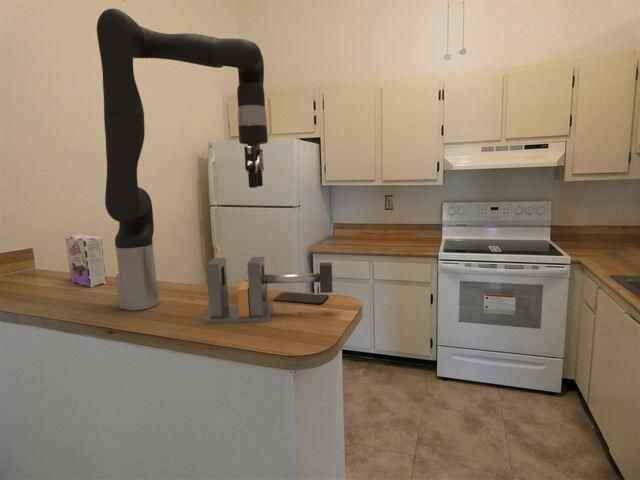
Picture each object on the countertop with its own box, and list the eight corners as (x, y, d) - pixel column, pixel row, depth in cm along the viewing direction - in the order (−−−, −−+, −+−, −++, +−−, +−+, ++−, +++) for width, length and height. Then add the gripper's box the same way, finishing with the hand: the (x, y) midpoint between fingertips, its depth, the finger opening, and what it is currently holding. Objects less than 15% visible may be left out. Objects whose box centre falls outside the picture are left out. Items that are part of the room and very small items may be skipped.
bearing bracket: (203, 323, 94) (198, 265, 91) (213, 310, 103) (209, 257, 100) (268, 321, 93) (265, 263, 91) (273, 308, 102) (270, 255, 100)
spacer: (239, 317, 94) (237, 289, 93) (244, 307, 101) (243, 281, 100) (249, 316, 94) (247, 289, 93) (254, 306, 101) (252, 281, 100)
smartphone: (282, 292, 115) (329, 294, 111) (282, 295, 116) (330, 298, 111) (271, 299, 109) (321, 303, 104) (271, 303, 109) (321, 306, 104)
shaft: (260, 294, 95) (258, 267, 94) (262, 290, 98) (260, 264, 97) (332, 292, 95) (331, 265, 94) (332, 288, 98) (331, 262, 97)
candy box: (70, 282, 135) (64, 236, 132) (88, 278, 139) (82, 233, 137) (89, 288, 127) (83, 239, 124) (107, 283, 132) (101, 236, 129)
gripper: (243, 128, 108) (247, 186, 111) (232, 122, 94) (236, 188, 97) (270, 127, 108) (273, 185, 111) (262, 121, 94) (266, 187, 97)
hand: (256, 186), depth 104 cm, fingers open, 8 cm apart
